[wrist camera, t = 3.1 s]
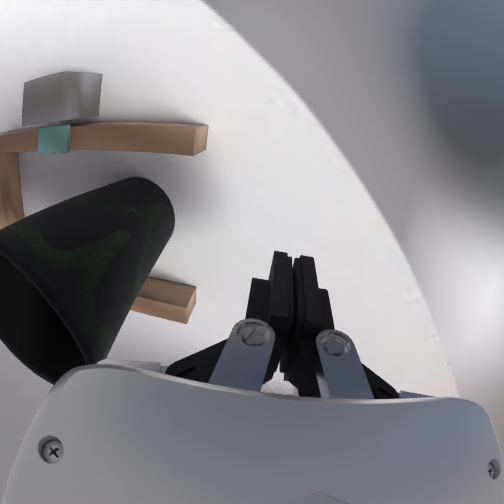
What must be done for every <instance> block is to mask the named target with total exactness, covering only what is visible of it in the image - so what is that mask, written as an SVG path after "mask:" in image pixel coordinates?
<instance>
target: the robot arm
mask: <svg viewBox="0 0 504 504" xmlns="http://www.w3.org/2000/svg"><path fill="white" fill-rule="evenodd" d="M279 362H280V372H281V373H284V381H289V382H290V383H291V384H292V385H293V386H295V387H294V389H293V394H294V396H291V395H281V394H272V393H264V392H260V391H261V387H262V385H263V384H265V383H266V382H268V381H269V380H271V379H272V377H273V374H274V372H276V370H277V367H278V364H279ZM2 504H504V460H503V456H502V452H501V448H500V444H499V441H498V437H497V435H496V432H495V429H494V426H493V424H492V422H491V419H490V417H489V415H488V413H487V412H486V410H485V409H484V408H483V407H482V406H480V405H479V404H477V403H475V402H472V401H469V400H466V399H461V398H455V397H434V396H428V395H422V394H417V393H411V392H406V391H400V392H399V393H397V391H396V390H395V389H394V388H393V387H392V386H391V385H389V384H388V383H387V382H386V381H384V380H383V379H382V378H380V377H379V376H378V375H376V374H375V373H374V372H373V371H371V370H370V369H369V368H367V367H366V366H365V365H364V364H362V363H361V361H360V358H359V355H358V353H357V350H356V348H355V345H354V343H353V341H352V339H351V338H350V337H349V336H348V335H346V334H345V333H343V332H341V331H338V330H335V328H334V323H333V317H332V311H331V306H330V300H329V295H328V291H327V290H326V289H321V288H318V282H317V275H316V269H315V263H314V258H313V257H309V256H303V255H301V256H300V258H295V260H294V264H293V268H292V257H288V255H287V253H285V252H279V251H274V255H273V260H272V265H271V270H270V275H269V280H264V279H258V278H252V283H251V288H250V294H249V300H248V306H247V312H246V318H245V319H244V320H241V321H239V322H238V323H236V324H235V326H234V327H233V329H232V331H231V333H230V335H229V338H228V339H226V340H223V341H221V342H219V343H217V344H215V345H213V346H210V347H208V348H206V349H204V350H202V351H199V352H197V353H195V354H193V355H190V356H188V357H186V358H183V359H181V360H179V361H176V362H174V363H173V364H171V365H170V366H161V363H154V362H140V361H129V360H119V359H104V360H101V361H99V362H98V363H96V364H92V365H84V366H79V367H76V368H73V369H71V370H69V371H68V372H66V373H65V374H64V375H63V376H62V377H61V378H60V379H59V380H58V381H57V382H56V383H55V385H54V386H53V387H52V389H51V390H50V392H49V393H48V395H47V396H46V398H45V399H44V401H43V402H42V404H41V406H40V408H39V410H38V411H37V413H36V415H35V417H34V419H33V420H32V422H31V424H30V427H29V429H28V431H27V433H26V435H25V438H24V440H23V442H22V445H21V447H20V449H19V452H18V454H17V457H16V459H15V462H14V464H13V467H12V470H11V473H10V476H9V479H8V482H7V486H6V489H5V493H4V496H3V501H2Z"/></svg>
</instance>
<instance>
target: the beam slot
mask: <svg viewBox="0 0 504 504" xmlns="http://www.w3.org/2000/svg"><path fill="white" fill-rule="evenodd" d="M101 81H102V74H95V73H82V72H61V73H57V74H53V75H49V76H45V77H42V78H38V79H35V80H31V81H28V82H25V84H24V95H23V111H22V126H27V125H34V124H41V123H49V122H58V121H64V120H70V119H77V118H84V117H91V116H99V102H100V91H101ZM207 133H208V125H196V124H182V123H161V122H99V123H80V124H66V125H55V126H46V127H37V128H30V129H23V130H16V131H10V132H6V133H3V134H0V229H2V228H4V227H6V226H8V225H11V224H13V223H15V222H17V221H19V220H21V219H23V218H24V212H23V205H22V198H21V189H20V180H19V168H18V152H21V151H38V152H39V153H68V152H70V150H118V151H139V152H154V153H167V154H179V155H189V156H194V155H196V154H198V153H200V152H202V151H204V150H206V142H207ZM195 303H196V287H192V286H187V285H183V284H178V283H173V282H168V281H164V280H159V279H155V278H150V277H147V279H146V281H145V282H144V284H143V286H142V288H141V290H140V292H139V293H138V295H137V297H136V299H135V301H134V303H133V305H132V307H131V309H130V310H132V311H136V312H140V313H144V314H147V315H151V316H155V317H159V318H163V319H167V320H171V321H176V322H180V323H184V324H187V322H188V320H189V317H190V315H191V313H192V310H193V308H194V306H195Z"/></svg>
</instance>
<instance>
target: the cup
mask: <svg viewBox="0 0 504 504" xmlns="http://www.w3.org/2000/svg"><path fill="white" fill-rule="evenodd" d="M174 226H175V216H174V210H173V207H172V204H171V202H170V200H169V198H168V196H167V195H166V194H165V192H164V191H163V190H162V189H161V188H160V187H159V186H158V185H157V184H155V183H153V182H151V181H150V180H148V179H144V178H140V177H130V178H127V179H124V180H121V181H118V182H115V183H112V184H109V185H106V186H103V187H100V188H97V189H95V190H92V191H89V192H86V193H84V194H81V195H78V196H76V197H73V198H70V199H68V200H65V201H63V202H60V203H58V204H55V205H53V206H51V207H48V208H46V209H43V210H41V211H39V212H37V213H34V214H32V215H30V216H28V217H25V218H23V219H21V220H19V221H17V222H15V223H13V224H11V225H8V226H6V227H4V228H2V229H0V339H1V340H2V342H3V343H4V344H5V345H6V346H7V348H8V349H9V350H10V351H11V352H12V353H13V354H14V355H15V356H16V357H17V358H18V359H19V360H20V361H21V362H22V363H23V364H24V365H25V366H27V367H28V368H29V369H30V370H32V371H33V372H34V373H35V374H37V375H38V376H40V377H41V378H43V379H45V380H46V381H48V382H50V383H51V384H53V385H55V383H56V382H57V381H58V380H59V379H60V378H61V377H62V376H63V375H64V374H65V373H66V372H68V371H69V370H71V369H73V368H76V367H79V366H84V365H92V364H96V363H98V362H99V361H101V360H104V359H106V357H107V355H108V353H109V351H110V349H111V347H112V345H113V343H114V340H115V338H116V336H117V334H118V332H119V330H120V328H121V326H122V324H123V322H124V320H125V318H126V316H127V314H128V312H129V311H130V309H131V307H132V305H133V303H134V301H135V299H136V297H137V295H138V293H139V292H140V290H141V288H142V286H143V284H144V282H145V281H146V279H147V277H148V275H149V273H150V272H151V270H152V268H153V266H154V265H155V263H156V261H157V259H158V258H159V256H160V254H161V252H162V251H163V249H164V247H165V246H166V244H167V242H168V240H169V239H170V237H171V235H172V233H173V230H174Z"/></svg>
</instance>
